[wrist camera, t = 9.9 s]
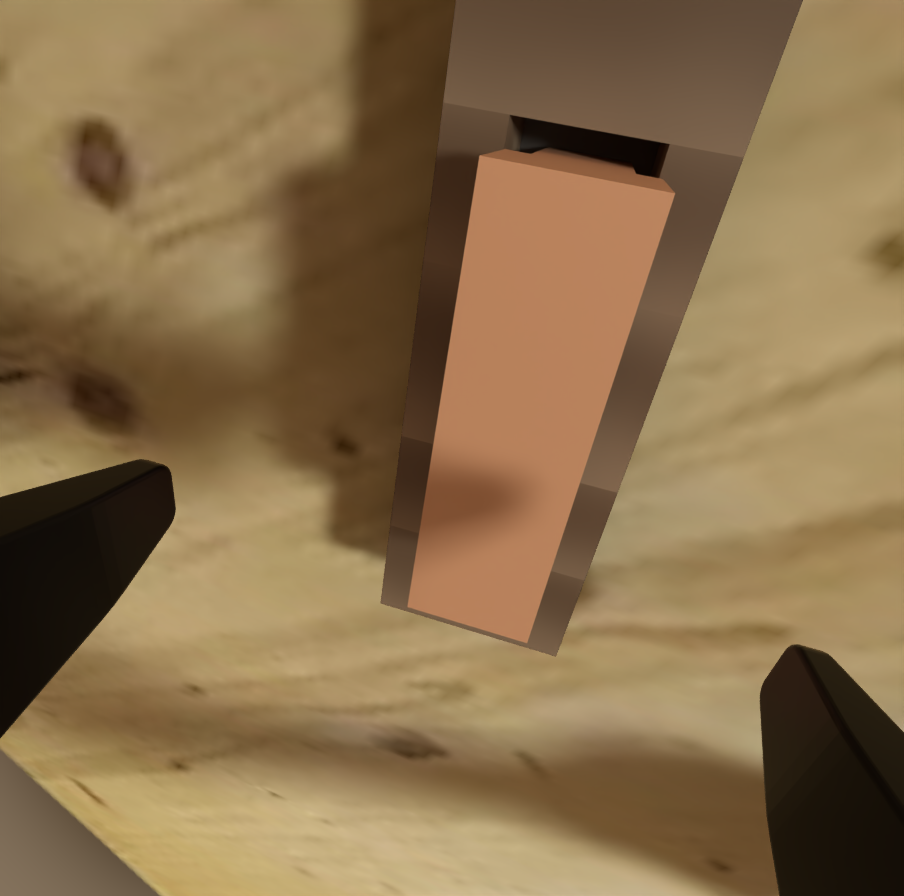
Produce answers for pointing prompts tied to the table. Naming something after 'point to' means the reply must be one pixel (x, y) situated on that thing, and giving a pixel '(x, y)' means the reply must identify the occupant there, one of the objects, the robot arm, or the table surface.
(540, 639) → the rail
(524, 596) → the clip
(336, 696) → the table surface
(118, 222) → the table surface
